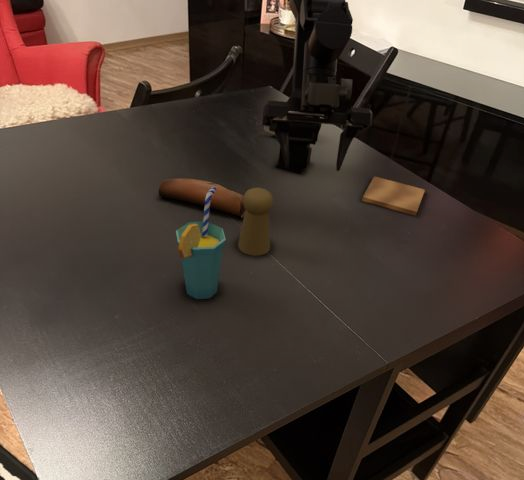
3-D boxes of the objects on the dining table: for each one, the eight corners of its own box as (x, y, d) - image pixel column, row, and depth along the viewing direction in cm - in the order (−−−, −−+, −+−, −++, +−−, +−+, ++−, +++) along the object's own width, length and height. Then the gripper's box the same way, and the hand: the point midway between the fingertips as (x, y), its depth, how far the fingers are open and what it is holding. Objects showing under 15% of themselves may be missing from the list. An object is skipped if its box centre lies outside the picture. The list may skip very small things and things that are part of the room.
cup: (191, 258, 85) (189, 178, 74) (234, 265, 85) (238, 187, 74) (167, 308, 76) (160, 225, 65) (215, 317, 75) (216, 235, 64)
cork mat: (361, 200, 105) (362, 196, 104) (373, 180, 112) (374, 176, 111) (415, 215, 102) (417, 211, 102) (423, 193, 110) (425, 189, 109)
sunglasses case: (254, 198, 100) (251, 180, 94) (243, 228, 99) (239, 211, 92) (176, 179, 103) (167, 160, 97) (164, 207, 102) (154, 189, 95)
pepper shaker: (266, 258, 87) (272, 203, 79) (234, 251, 88) (237, 197, 80) (272, 240, 91) (279, 186, 83) (242, 234, 92) (245, 180, 84)
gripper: (270, 49, 74) (264, 155, 77) (387, 60, 76) (377, 163, 79) (264, 76, 85) (259, 168, 88) (366, 85, 87) (359, 175, 89)
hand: (312, 168), depth 86 cm, fingers open, 9 cm apart
